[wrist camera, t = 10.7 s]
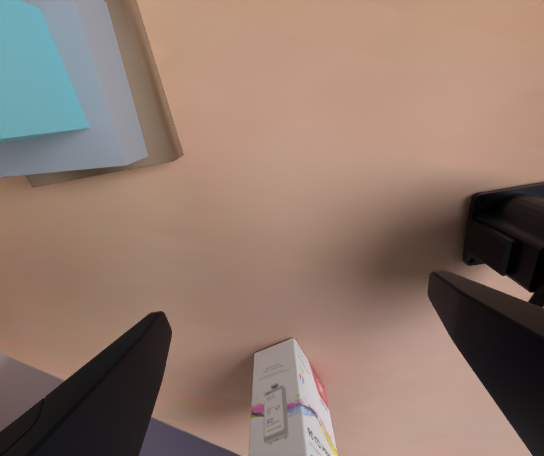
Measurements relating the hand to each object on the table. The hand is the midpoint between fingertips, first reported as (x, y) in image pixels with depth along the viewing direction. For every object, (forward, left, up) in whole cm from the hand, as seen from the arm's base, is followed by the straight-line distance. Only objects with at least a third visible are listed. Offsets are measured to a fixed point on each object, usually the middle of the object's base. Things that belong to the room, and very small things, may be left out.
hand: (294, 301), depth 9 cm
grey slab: (+12, -9, -11) cm, 18 cm away
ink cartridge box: (+2, +20, -13) cm, 24 cm away
